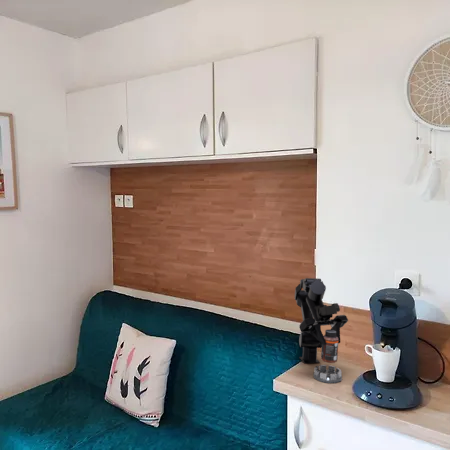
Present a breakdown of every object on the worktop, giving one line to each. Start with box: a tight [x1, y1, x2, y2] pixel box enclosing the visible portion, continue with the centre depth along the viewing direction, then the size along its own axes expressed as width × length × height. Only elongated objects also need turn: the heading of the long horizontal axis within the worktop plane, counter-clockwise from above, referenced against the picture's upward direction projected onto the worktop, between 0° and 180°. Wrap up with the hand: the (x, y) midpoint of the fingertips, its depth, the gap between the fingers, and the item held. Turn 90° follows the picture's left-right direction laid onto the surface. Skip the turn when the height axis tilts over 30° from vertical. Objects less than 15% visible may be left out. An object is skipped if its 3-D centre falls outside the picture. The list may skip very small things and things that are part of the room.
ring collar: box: [313, 364, 343, 384], centre depth 169 cm, size 10×10×3 cm
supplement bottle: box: [320, 329, 339, 364], centre depth 168 cm, size 6×6×11 cm
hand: (332, 343), depth 167 cm, fingers closed on supplement bottle, 6 cm apart
